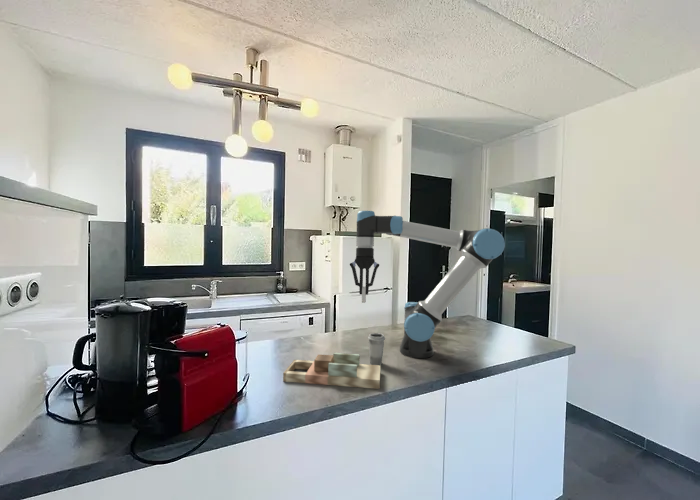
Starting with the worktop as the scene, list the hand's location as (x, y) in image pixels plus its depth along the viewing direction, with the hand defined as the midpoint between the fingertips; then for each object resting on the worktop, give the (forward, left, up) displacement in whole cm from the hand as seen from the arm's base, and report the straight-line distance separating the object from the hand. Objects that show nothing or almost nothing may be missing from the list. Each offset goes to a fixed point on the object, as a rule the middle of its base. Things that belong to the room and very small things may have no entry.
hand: (363, 302), depth 133 cm
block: (+13, +21, -21) cm, 32 cm away
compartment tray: (+9, +21, -24) cm, 33 cm away
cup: (-6, +5, -25) cm, 26 cm away
